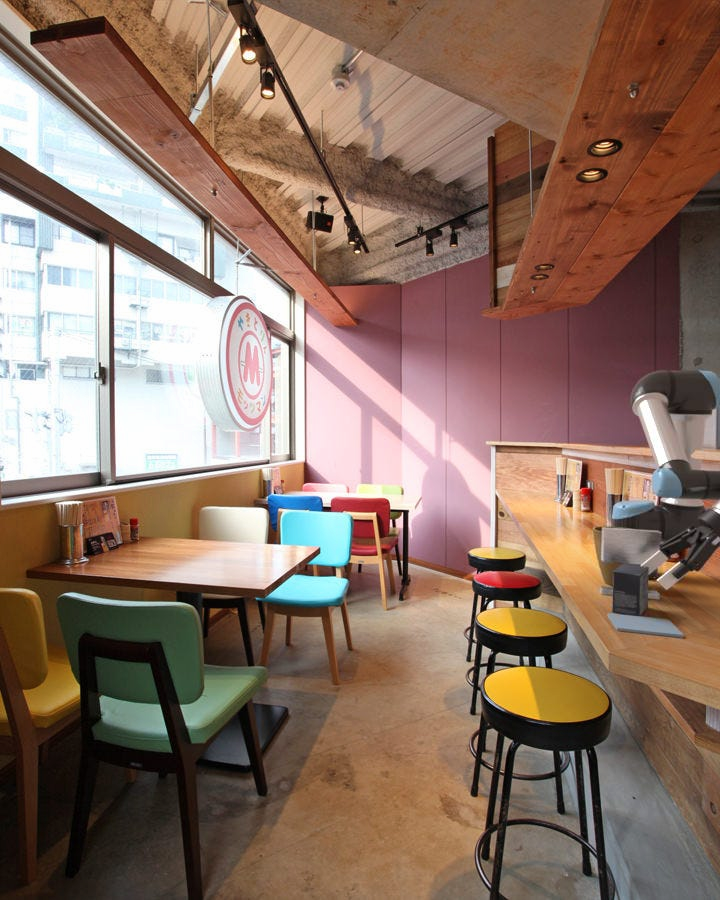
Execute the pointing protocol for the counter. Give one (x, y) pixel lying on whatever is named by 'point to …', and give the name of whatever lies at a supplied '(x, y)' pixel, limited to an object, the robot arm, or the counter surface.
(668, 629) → the mat
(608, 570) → the plant pot
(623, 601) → the small box
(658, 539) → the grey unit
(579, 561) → the counter surface
